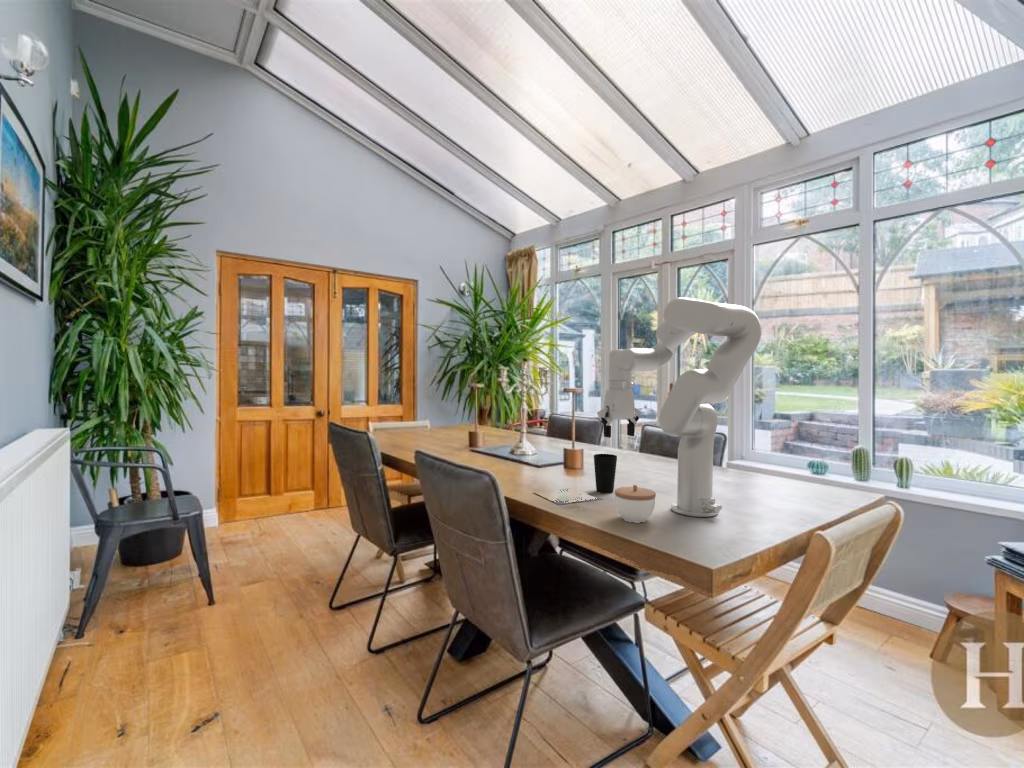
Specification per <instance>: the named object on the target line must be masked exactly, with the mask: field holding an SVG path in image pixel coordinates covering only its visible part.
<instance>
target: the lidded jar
mask: <svg viewBox="0 0 1024 768" xmlns="http://www.w3.org/2000/svg"><path fill="white" fill-rule="evenodd" d="M614 495H615V497H614V498H615V500H614V502H615V508H616V510H617V513H618V514H619V515H620V516H621V517H622V519H624V520H623V521H624V522H627V521H628V523H631V522H634V523H633V524H641V523H640V522H643V523H646V522H647V520H648V519H649V518H650V517H651V516H652V515H653V513H654V510H655V505H656V497H657V495H656V492H655V491H654V490H652V489H650V488H645V487H638V485H637V484H633V485H632V486H623V487H618V488H616V489H614ZM645 521H646V522H645Z"/></svg>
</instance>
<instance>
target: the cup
mask: <svg viewBox="0 0 1024 768" xmlns="http://www.w3.org/2000/svg"><path fill="white" fill-rule="evenodd" d="M617 460H618V456H617V455H615V454H611V453H596V454H593V463H594V475H595V476H594V477H595V479H594V480H595V491H596V493H599V492H600V493H599V494H605V493H609V494H612V492H613V493H614V492H615V481H616V471H617V462H618V461H617Z"/></svg>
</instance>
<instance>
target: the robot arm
mask: <svg viewBox="0 0 1024 768" xmlns="http://www.w3.org/2000/svg"><path fill="white" fill-rule="evenodd" d="M663 319H664V321H662V322H661V323H660V324H659V325H657V327H656V336H657V339H658V340H659V342H657V344H655V345H654V346H652V347H650V348H647V347H646V348H641V347H630V348H624V349H621V348H620V349H619V348H618V349H617V348H615V349H612V350H610V351H609V355H608V356H609V357H608V360H609V362H608V389H606V391H605V395H604V401H603V408H602V409H601V410H599V411H597V412H596V414H597V417H598V419H599V422H600V423H601V425H602V426H603V438H604V437H605V438H608V439H609V438H611V437H612V426H611V424H612V422H614V421H618V420H624V421H625V420H626V421H627V422H628V423H627V426H626V435H627V436H629V437H634V436H635V433H636V432H635V429H636V428H635V427H636V425H637V423H638V421H639V420H640V416H641V414H642V410H639V409H638V408H636V407H635V406H636V405H635V396H634V390H632V387H634V382H632V381H633V380H632V379H633V375H632V374H633V372H654V371H657V370H659V369H661V368H662V367H664V366H665V365H666V364H667V363H669V362H670V361H671V360H672V359H673V358H674V356H675V355H676V353H677V350H678V347H679V346H680V345H681V344H683V343H684V342H685V341H688V340H689V339H690V338H691V337H692V336H694V335H695V334H701V335H706V336H714V337H715V336H716V337H726V340H724V341H723V343H721V345H719V346H718V347H717V348H716V350H715V351H714V352H713V354H712V356H711V358H710V360H709V362H708V363H707V364H706V366H705V367H703V368H695V369H694V368H693V369H689V370H688V369H687V370H686V371H684V372H682V374H681V375H680V376H678V377H677V379H676V380H675V382H674V384H673V386H672V388H671V390H670V392H669V394H668V395H667V397H666V400H665V401H664V403H663V406H662V408H661V410H660V412H659V419H658V421H659V427H660V429H661V430H662V432H663V433H665V434H666V435H668V436H669V437H681V438H680V439H679V443H678V448H677V479H676V480H677V488H676V489H677V490H676V494H677V495H676V502H673V503H672V504H671V507H670V509H671V510H672V511H673V512H674V513H677V514H680V515H682V516H688V517H696V518H698V517H699V518H706V517H708V518H709V517H713V516H716V515H718V514H719V513H720V511H722V509H723V506H722V505H721V504H718V503H716V498H715V497H713V486H714V485H713V484H714V483H713V481H714V480H713V478H714V476H713V475H714V446H715V445H714V444H715V438H716V436H715V435H716V431H717V427H718V420H719V419H718V414H717V411H716V409H715V408H714V407H713V406H712V405H715V404H719V403H722V402H723V401H725V400H726V399H727V398H728V396H729V395H730V394H731V391H732V389H733V388H734V386H735V385H736V382H737V381H738V380H739V378H740V376H741V374H742V372H743V371H744V368H745V367H746V365H747V364H748V362H749V360H750V359H751V358H752V356H753V355H754V353H755V352H756V350H757V348H758V346H759V343H760V341H761V338H762V326H761V325H762V324H761V321H760V319H759V317H758V316H757V314H756V313H755V312H754V311H753V310H752V309H750V308H748V307H746V306H743V305H739V304H731V303H721V302H713V301H708V300H707V301H706V300H702V299H701V298H700V299H699V298H693V297H692V298H691V297H676V298H673V299H671V300H670V301H669V302H668V303H667V305H665V307H664V310H663ZM613 420H614V421H613Z"/></svg>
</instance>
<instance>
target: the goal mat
mask: <svg viewBox="0 0 1024 768" xmlns="http://www.w3.org/2000/svg"><path fill="white" fill-rule="evenodd" d="M564 489H565V490H566V489H567V490H566V491H567V492H568V493H569V492H570V491H568V489H569V488H563V489H562V490H563V491H564ZM559 490H560V491H561V489H559ZM567 492H565V491H564V492H562V491H561V493H560V492H558V493H560V494H561V495H562V494H564V495H565V493H566V494H567ZM560 494H559V495H560ZM561 495H560V496H559V497H558V498H556V499H557V500H558V501H559V502H558V501H557V500H555V501H556V502H554V503H553V504H555V503H556V504H555V505H557V504H558V506H562V504H564V505H570V504H569V502H568V501H569V499H570V498H571V497H568V496H567V495H565V496H566V497H565V496H564V495H562V496H563V497H562V496H561ZM580 495H581V494H580ZM567 497H568V498H569V499H568V498H567ZM573 498H574V497H573ZM576 498H577V499H578V498H579V499H580V497H576ZM576 498H575V500H576ZM599 499H601V500H602V498H601V497H598V498H597V499H596V498H595V500H594V501H599ZM570 500H572V499H570ZM573 500H574V499H573ZM581 500H582V497H581ZM585 500H586V499H585ZM592 500H593V499H592ZM592 500H591V499H590V500H588V501H587V500H586V502H591V501H592ZM564 501H565V503H564ZM577 501H578V500H577ZM577 501H576V503H575V504H578V503H577ZM566 502H568V503H566ZM578 502H579V501H578ZM592 502H593V501H592ZM579 503H583V502H582V501H580V502H579Z"/></svg>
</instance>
